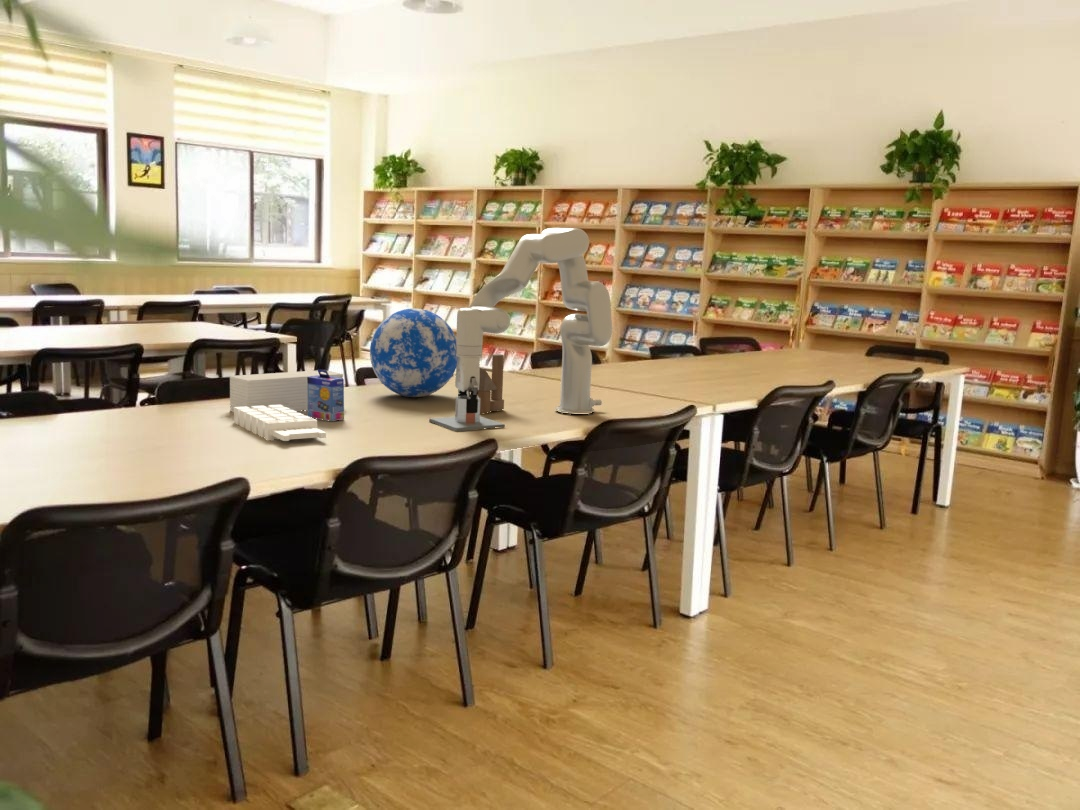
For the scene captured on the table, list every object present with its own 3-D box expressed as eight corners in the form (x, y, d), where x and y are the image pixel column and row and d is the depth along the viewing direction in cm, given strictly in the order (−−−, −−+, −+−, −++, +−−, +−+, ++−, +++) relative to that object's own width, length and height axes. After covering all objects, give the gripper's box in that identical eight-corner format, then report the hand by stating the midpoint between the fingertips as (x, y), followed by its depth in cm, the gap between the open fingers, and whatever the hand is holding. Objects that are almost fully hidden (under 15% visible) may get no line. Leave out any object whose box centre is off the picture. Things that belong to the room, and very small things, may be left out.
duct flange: (476, 418, 286) (477, 398, 285) (504, 427, 273) (505, 407, 272) (429, 421, 277) (429, 401, 276) (456, 431, 264) (456, 410, 263)
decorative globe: (359, 391, 329) (360, 304, 325) (440, 389, 342) (443, 306, 337) (382, 405, 303) (384, 311, 298) (469, 402, 315) (472, 312, 310)
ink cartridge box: (305, 417, 275) (306, 368, 272) (319, 415, 279) (319, 366, 277) (331, 422, 270) (331, 371, 267) (344, 419, 274) (345, 370, 272)
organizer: (280, 404, 269) (330, 425, 241) (279, 421, 270) (329, 444, 242) (233, 407, 262) (280, 429, 234) (233, 424, 262) (280, 448, 235)
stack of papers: (247, 417, 273) (247, 380, 271) (230, 411, 280) (229, 375, 278) (342, 408, 295) (343, 374, 293) (324, 403, 303) (324, 369, 301)
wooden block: (474, 413, 296) (476, 355, 293) (495, 409, 304) (497, 353, 301) (483, 414, 293) (485, 356, 291) (504, 410, 302) (506, 354, 299)
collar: (453, 419, 277) (454, 395, 276) (475, 419, 279) (476, 395, 278) (459, 423, 271) (459, 399, 270) (481, 423, 273) (482, 399, 272)
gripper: (449, 347, 278) (447, 405, 281) (464, 354, 262) (462, 415, 265) (473, 348, 281) (472, 404, 284) (490, 354, 265) (488, 415, 268)
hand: (467, 410), depth 274 cm, fingers open, 9 cm apart
